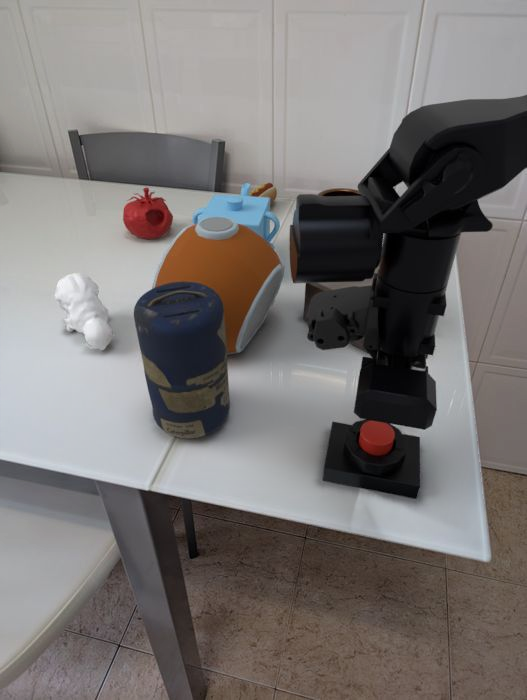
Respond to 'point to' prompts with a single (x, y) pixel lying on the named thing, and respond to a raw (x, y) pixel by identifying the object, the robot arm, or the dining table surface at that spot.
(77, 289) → the white animal figurine
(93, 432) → the dining table surface
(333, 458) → the switch block
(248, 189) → the teapot
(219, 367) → the canister
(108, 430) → the dining table surface
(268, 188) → the food
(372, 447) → the button
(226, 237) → the alarm clock
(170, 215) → the red tomato
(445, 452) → the dining table surface
